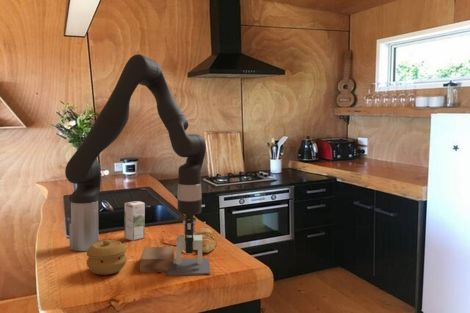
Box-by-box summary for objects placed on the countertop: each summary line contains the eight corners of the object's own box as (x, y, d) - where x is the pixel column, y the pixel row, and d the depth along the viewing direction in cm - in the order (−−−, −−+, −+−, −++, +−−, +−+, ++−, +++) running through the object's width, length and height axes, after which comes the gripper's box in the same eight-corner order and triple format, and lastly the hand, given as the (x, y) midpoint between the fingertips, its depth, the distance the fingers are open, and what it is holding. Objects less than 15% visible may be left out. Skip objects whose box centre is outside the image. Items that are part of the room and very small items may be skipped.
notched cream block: (202, 263, 121) (202, 240, 120) (176, 264, 120) (176, 240, 120) (201, 257, 127) (202, 234, 126) (177, 257, 126) (177, 235, 126)
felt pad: (166, 275, 117) (166, 273, 117) (169, 260, 130) (169, 258, 130) (210, 274, 118) (210, 272, 118) (208, 259, 131) (208, 258, 131)
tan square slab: (139, 272, 119) (139, 259, 119) (144, 258, 131) (144, 247, 131) (172, 271, 120) (172, 258, 120) (174, 258, 132) (174, 246, 132)
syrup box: (136, 235, 158) (135, 200, 157) (145, 238, 155) (145, 202, 153) (124, 238, 154) (123, 202, 153) (133, 241, 150) (132, 204, 149)
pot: (130, 264, 125) (130, 234, 124) (121, 279, 114) (121, 246, 113) (94, 264, 125) (93, 234, 124) (80, 279, 113) (80, 245, 112)
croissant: (214, 264, 137) (225, 244, 137) (189, 252, 135) (200, 232, 135) (206, 244, 157) (216, 227, 158) (184, 234, 155) (194, 216, 155)
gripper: (201, 202, 115) (201, 257, 117) (201, 193, 130) (200, 242, 131) (176, 202, 114) (176, 257, 116) (178, 193, 129) (178, 243, 130)
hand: (189, 249), depth 123 cm, fingers closed on notched cream block, 6 cm apart
